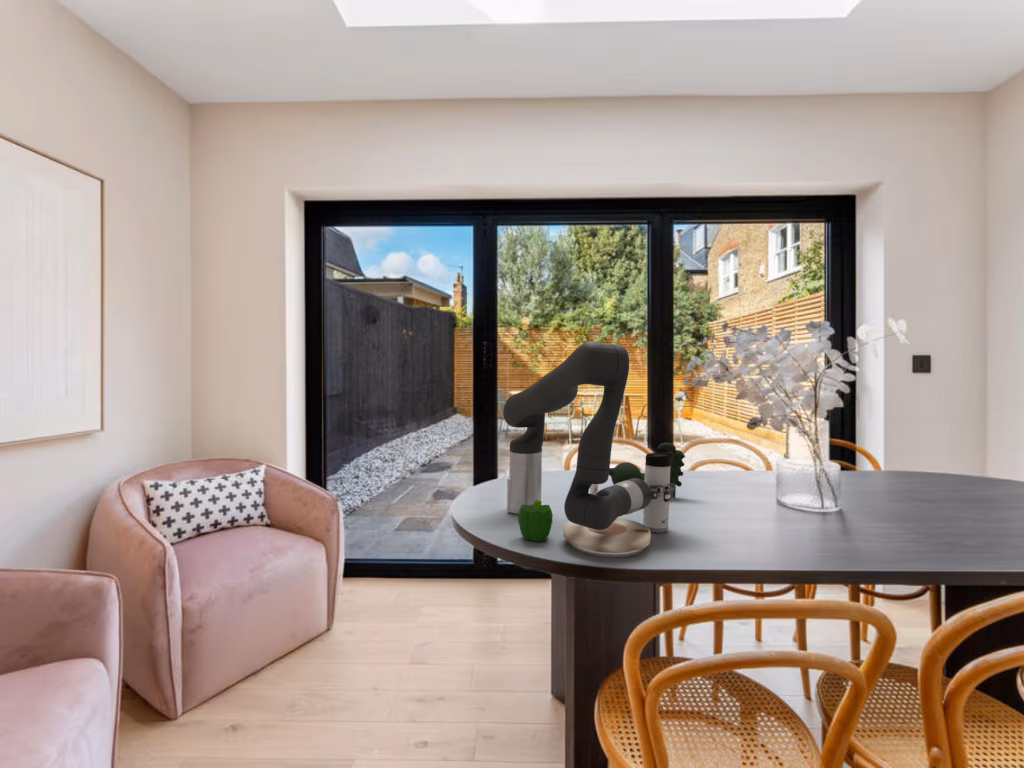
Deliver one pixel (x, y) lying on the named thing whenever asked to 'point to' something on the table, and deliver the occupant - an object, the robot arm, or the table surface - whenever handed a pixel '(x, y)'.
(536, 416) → the robot arm
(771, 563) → the table surface
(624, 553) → the turntable base
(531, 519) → the bell pepper
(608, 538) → the turntable platter
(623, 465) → the toy figurine
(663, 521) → the travel mug
